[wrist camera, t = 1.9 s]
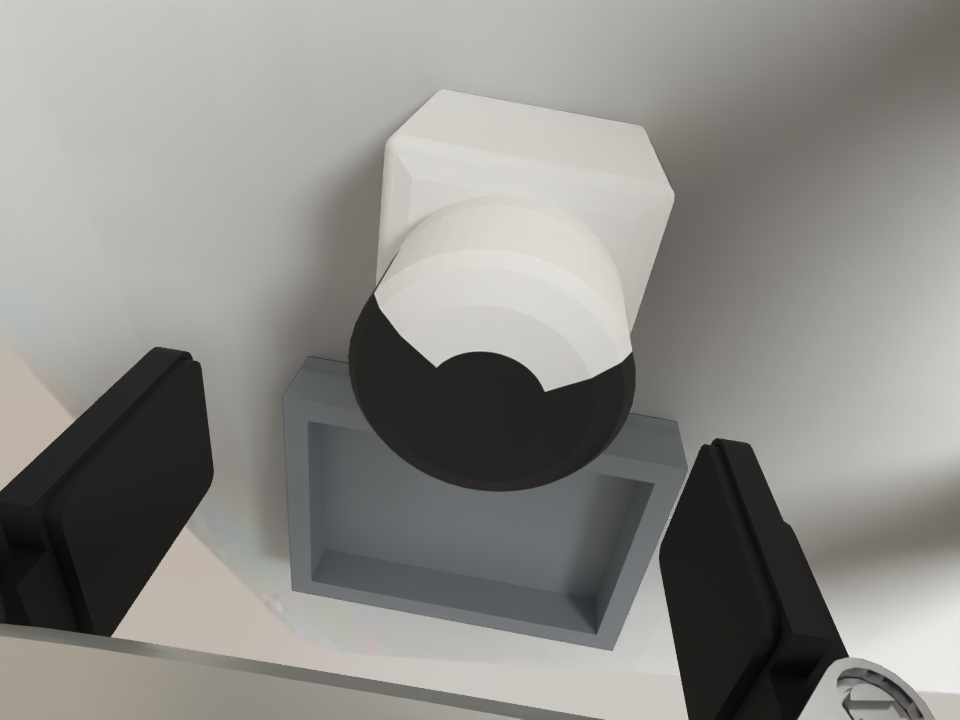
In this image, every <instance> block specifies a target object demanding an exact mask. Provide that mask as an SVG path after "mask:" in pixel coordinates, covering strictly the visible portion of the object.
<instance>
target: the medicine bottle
mask: <svg viewBox="0 0 960 720" xmlns="http://www.w3.org/2000/svg"><path fill="white" fill-rule="evenodd" d="M674 197H675V193H674V190H673V188H672V186H671V184H670V182H669V180H668V177H667V175H666V173H665V171H664V169H663V167H662V164H661V162H660V160H659V158H658V156H657V154H656V151H655V149H654V147H653V145H652V143H651V140H650V138H649V136H648V134H647V132H646V130H645V129H644V128H643V127H641V126H639V125H635V124H629V123H624V122H618V121H613V120H608V119H602V118H597V117H591V116H586V115H580V114H575V113H570V112H564V111H559V110H553V109H548V108H543V107H537V106H532V105H526V104H521V103H515V102H510V101H505V100H499V99H494V98H488V97H483V96H478V95H472V94H467V93H461V92H456V91H451V90H439V91H438V92H436V93H435V94H434V95H433V96H432V97H431V98H430V99H429V100H428V101H427V102H426V103H425V104H424V105H423V106H422V107H421V108H420V109H418V110H417V111H416V112H415V113H414V114H413V115H412V116H411V117H410V118H409V119H408V120H407V121H406V122H405V123H404V124H403V125H402V126H401V127H400V128H399V129H398V130H397V131H396V132H395V133H394V134H393V135H392V136H391V137H389V138H388V139H387V142H386V145H385V153H384V168H383V183H382V198H381V213H380V228H379V243H378V258H377V273H376V288H375V289H374V291H373V293H372V294H371V296H370V298H369V299H368V301H367V303H366V304H365V306H364V308H363V310H362V312H361V314H360V316H359V318H358V320H357V322H356V324H355V327H354V330H353V333H352V337H351V340H350V348H349V356H348V359H349V375H350V380H351V385H352V390H353V392H354V395H355V398H356V401H357V404H358V406H359V408H360V409H361V411H362V413H363V415H364V417H365V419H366V420H367V422H368V423H369V425H370V426H371V427H372V429H373V430H374V431H375V433H376V434H377V435H378V436H379V437H380V438H381V439H382V440H383V442H384V443H385V444H386V445H387V446H388V447H389V448H390V449H391V450H392V451H393V452H395V453H396V454H397V455H398V456H399V457H400V458H402V459H403V460H404V461H406V462H407V463H409V464H410V465H412V466H413V467H415V468H416V469H418V470H419V471H421V472H423V473H425V474H427V475H429V476H431V477H433V478H436V479H438V480H441V481H443V482H446V483H448V484H452V485H456V486H459V487H463V488H468V489H474V490H480V491H493V492H507V491H519V490H526V489H532V488H536V487H540V486H543V485H547V484H550V483H552V482H555V481H557V480H560V479H562V478H565V477H567V476H569V475H571V474H573V473H575V472H576V471H578V470H580V469H582V468H584V467H585V466H586V465H588V464H589V463H591V462H592V461H593V460H595V459H596V458H597V457H598V456H599V455H600V454H601V453H602V452H604V451H605V450H606V449H607V448H608V447H609V446H610V444H611V443H612V442H613V440H614V439H615V438H616V437H617V435H618V434H619V432H620V431H621V429H622V427H623V425H624V423H625V421H626V420H627V417H628V415H629V412H630V409H631V406H632V403H633V398H634V392H635V363H634V357H633V351H632V345H631V339H630V335H631V332H632V329H633V326H634V323H635V320H636V317H637V313H638V310H639V307H640V304H641V301H642V298H643V295H644V292H645V289H646V286H647V283H648V280H649V277H650V274H651V271H652V268H653V265H654V261H655V258H656V255H657V252H658V249H659V246H660V243H661V240H662V237H663V234H664V231H665V228H666V225H667V222H668V219H669V216H670V213H671V210H672V206H673V203H674Z"/></svg>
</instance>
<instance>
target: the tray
mask: <svg viewBox="0 0 960 720" xmlns="http://www.w3.org/2000/svg"><path fill="white" fill-rule="evenodd" d="M282 403H283V423H284V443H285V463H286V482H287V502H288V522H289V542H290V562H291V581H292V591H297V592H302V593H307V594H313V595H318V596H323V597H329V598H334V599H339V600H344V601H350V602H355V603H360V604H366V605H371V606H376V607H381V608H387V609H392V610H397V611H403V612H408V613H413V614H419V615H424V616H429V617H434V618H440V619H445V620H450V621H456V622H461V623H466V624H471V625H477V626H482V627H487V628H493V629H498V630H503V631H509V632H514V633H519V634H524V635H530V636H535V637H540V638H546V639H551V640H556V641H561V642H567V643H572V644H577V645H583V646H588V647H593V648H599V649H604V650H609V651H613V649H614V646H615V644H616V641H617V639H618V637H619V634H620V632H621V629H622V627H623V625H624V622H625V620H626V617H627V615H628V613H629V610H630V608H631V605H632V603H633V601H634V598H635V596H636V593H637V591H638V589H639V586H640V584H641V581H642V579H643V577H644V574H645V572H646V569H647V567H648V565H649V562H650V560H651V557H652V555H653V552H654V550H655V548H656V545H657V543H658V540H659V538H660V536H661V533H662V531H663V528H664V526H665V524H666V521H667V519H668V516H669V514H670V512H671V509H672V507H673V504H674V502H675V500H676V497H677V495H678V492H679V490H680V488H681V485H682V483H683V480H684V478H685V476H686V473H687V471H688V466H687V462H686V458H685V454H684V449H683V445H682V441H681V437H680V432H679V428H678V424H677V422H676V421H671V420H665V419H659V418H654V417H648V416H642V415H637V414H631V413H629V415H628V417H627V420H626V421H625V423H624V425H623V427H622V429H621V431H620V432H619V434H618V435H617V437H616V438H615V439H614V440H613V442H612V443H611V444H610V446H609V447H608V448H607V449H606V450H605V451H604V452H602V453H601V454H600V455H599V456H598V457H597V458H596V459H595V460H593V461H592V462H591V463H589V464H588V465H586V466H585V467H584V468H582V469H580V470H578V471H576V472H575V473H573V474H571V475H569V476H567V477H565V478H562V479H560V480H557V481H555V482H552V483H550V484H547V485H543V486H540V487H536V488H532V489H526V490H519V491H507V492H493V491H480V490H474V489H468V488H463V487H459V486H456V485H452V484H448V483H446V482H443V481H441V480H438V479H436V478H433V477H431V476H429V475H427V474H425V473H423V472H421V471H419V470H418V469H416V468H415V467H413V466H412V465H410V464H409V463H407V462H406V461H404V460H403V459H402V458H400V457H399V456H398V455H397V454H396V453H395V452H393V451H392V450H391V449H390V448H389V447H388V446H387V445H386V444H385V443H384V442H383V440H382V439H381V438H380V437H379V436H378V435H377V434H376V433H375V431H374V430H373V429H372V427H371V426H370V425H369V423H368V422H367V420H366V419H365V417H364V415H363V413H362V411H361V409H360V408H359V406H358V404H357V401H356V398H355V395H354V392H353V390H352V385H351V380H350V375H349V364H348V363H343V362H337V361H331V360H326V359H320V358H315V357H308V358H307V360H306V361H305V363H304V364H303V366H302V367H301V369H300V370H299V372H298V373H297V375H296V376H295V378H294V379H293V381H292V382H291V384H290V385H289V387H288V388H287V390H286V391H285V393H284V395H283V396H282Z"/></svg>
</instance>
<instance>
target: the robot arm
mask: <svg viewBox="0 0 960 720" xmlns="http://www.w3.org/2000/svg"><path fill="white" fill-rule="evenodd" d="M213 474H214V468H213V460H212V452H211V443H210V435H209V427H208V419H207V410H206V402H205V394H204V386H203V377H202V369H201V365H200V363H199V362H197V361H193V358H192V356H191V354H190V353H189V352H186V351H180V350H174V349H168V348H162V347H155V348H153V349H152V350H150V351H149V352H148V353H147V354H146V355H145V356H144V357H143V358H142V359H141V360H140V361H139V362H138V363H137V364H135V365H134V366H133V367H132V368H131V369H130V370H129V371H128V372H127V373H126V374H125V375H124V376H123V377H122V378H121V379H119V380H118V381H117V382H116V383H115V384H114V385H113V386H112V387H111V388H110V389H109V390H108V391H107V392H106V393H105V394H103V395H102V396H101V397H100V398H99V399H98V400H97V401H96V402H95V403H94V404H93V405H92V406H91V407H90V408H89V409H87V410H86V411H85V412H84V413H83V414H82V415H81V416H80V417H79V418H78V419H77V420H76V421H75V422H74V423H73V424H72V425H70V427H68V428H67V429H66V430H65V431H64V432H63V433H62V434H61V435H60V436H59V437H58V438H57V439H56V440H55V441H53V442H52V443H51V444H50V445H49V446H48V447H47V448H46V449H45V450H44V451H43V452H42V453H41V454H40V455H39V456H37V457H36V458H35V459H34V460H33V461H32V462H31V463H30V464H29V465H28V466H27V467H26V468H25V469H24V470H23V471H21V472H20V473H19V474H18V475H17V476H16V477H15V478H14V479H13V480H12V481H11V482H10V483H9V484H8V485H7V486H6V487H5V488H3V489H2V490H1V491H0V720H603V719H597V718H591V717H586V716H580V715H574V714H568V713H563V712H557V711H551V710H545V709H540V708H534V707H528V706H522V705H516V704H511V703H505V702H499V701H494V700H488V699H482V698H476V697H471V696H465V695H458V694H452V693H447V692H441V691H435V690H429V689H424V688H418V687H412V686H406V685H399V684H394V683H388V682H382V681H376V680H370V679H364V678H358V677H352V676H346V675H340V674H334V673H328V672H323V671H317V670H310V669H305V668H299V667H293V666H286V665H281V664H274V663H268V662H262V661H256V660H250V659H243V658H237V657H231V656H225V655H219V654H213V653H207V652H200V651H195V650H188V649H182V648H176V647H170V646H164V645H158V644H152V643H145V642H139V641H132V640H125V639H118V638H112V637H111V636H112V634H113V633H114V631H115V630H116V628H117V627H118V625H119V623H120V622H121V621H122V619H123V618H124V616H125V615H126V613H127V612H128V610H129V609H130V607H131V606H132V604H133V602H134V601H135V600H136V598H137V597H138V595H139V594H140V592H141V591H142V589H143V588H144V586H145V585H146V583H147V581H148V580H149V579H150V577H151V576H152V574H153V572H154V571H155V570H156V568H157V567H158V565H159V563H160V562H161V560H162V559H163V557H164V556H165V554H166V553H167V551H168V550H169V548H170V547H171V545H172V544H173V542H174V541H175V539H176V538H177V536H178V535H179V533H180V532H181V530H182V529H183V527H184V526H185V524H186V523H187V521H188V520H189V518H190V517H191V515H192V514H193V512H194V511H195V509H196V508H197V506H198V505H199V503H200V502H201V500H202V499H203V497H204V496H205V494H206V493H207V491H208V490H209V488H210V486H211V483H212V480H213ZM659 563H660V569H661V574H662V580H663V585H664V590H665V596H666V601H667V606H668V612H669V617H670V622H671V628H672V633H673V638H674V644H675V649H676V654H677V660H678V665H679V670H680V676H681V681H682V686H683V692H684V696H685V702H686V708H687V713H688V718H689V720H935V718H934V717H933V715H932V713H931V711H930V710H929V708H928V706H927V705H926V703H925V702H924V701H923V700H922V699H921V697H920V696H919V695H918V694H917V693H916V692H915V691H914V689H913V688H912V687H911V686H909V685H908V684H907V683H906V682H905V681H903V680H902V679H901V678H900V677H898V676H897V675H896V674H894V673H893V672H891V671H889V670H887V669H886V668H884V667H882V666H880V665H879V664H876V663H873V662H870V661H867V660H864V659H859V658H849V655H848V653H847V651H846V649H845V646H844V644H843V642H842V640H841V637H840V635H839V633H838V631H837V628H836V626H835V624H834V621H833V619H832V617H831V615H830V612H829V610H828V608H827V606H826V603H825V601H824V599H823V596H822V594H821V592H820V590H819V587H818V585H817V583H816V581H815V578H814V576H813V574H812V571H811V569H810V567H809V565H808V562H807V560H806V558H805V556H804V553H803V551H802V549H801V546H800V544H799V542H798V540H797V537H796V535H795V533H794V531H793V530H792V528H791V526H790V525H788V524H787V523H786V522H784V521H783V519H782V516H781V514H780V512H779V509H778V507H777V505H776V502H775V500H774V498H773V495H772V493H771V491H770V489H769V486H768V484H767V482H766V479H765V477H764V475H763V472H762V470H761V468H760V465H759V463H758V461H757V458H756V456H755V454H754V451H753V449H752V447H751V446H750V444H748V443H744V442H738V441H732V440H726V439H720V438H717V439H715V440H714V441H713V442H712V444H711V445H707V444H704V445H703V446H702V447H701V449H700V451H699V453H698V456H697V458H696V461H695V463H694V465H693V468H692V470H691V473H690V475H689V478H688V480H687V482H686V485H685V487H684V490H683V492H682V495H681V497H680V500H679V502H678V504H677V507H676V509H675V512H674V514H673V517H672V519H671V521H670V524H669V526H668V529H667V531H666V534H665V536H664V539H663V541H662V544H661V547H660V553H659Z"/></svg>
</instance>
